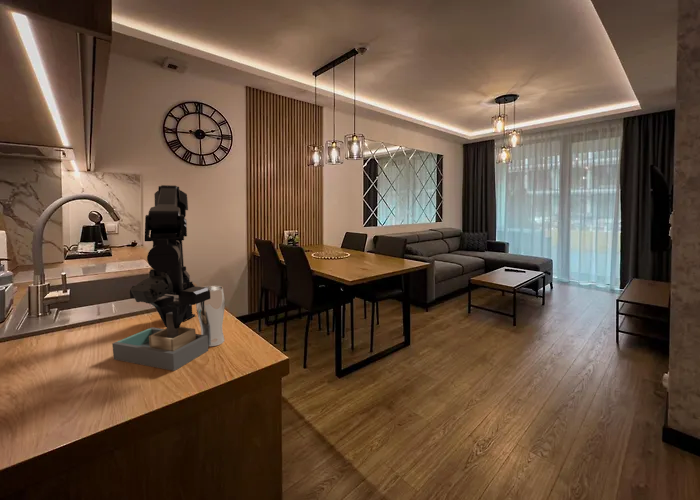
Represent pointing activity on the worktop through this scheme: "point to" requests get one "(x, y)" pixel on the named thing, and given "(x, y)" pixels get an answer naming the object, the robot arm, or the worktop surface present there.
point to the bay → (157, 351)
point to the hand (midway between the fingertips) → (172, 327)
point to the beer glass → (212, 315)
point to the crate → (171, 336)
